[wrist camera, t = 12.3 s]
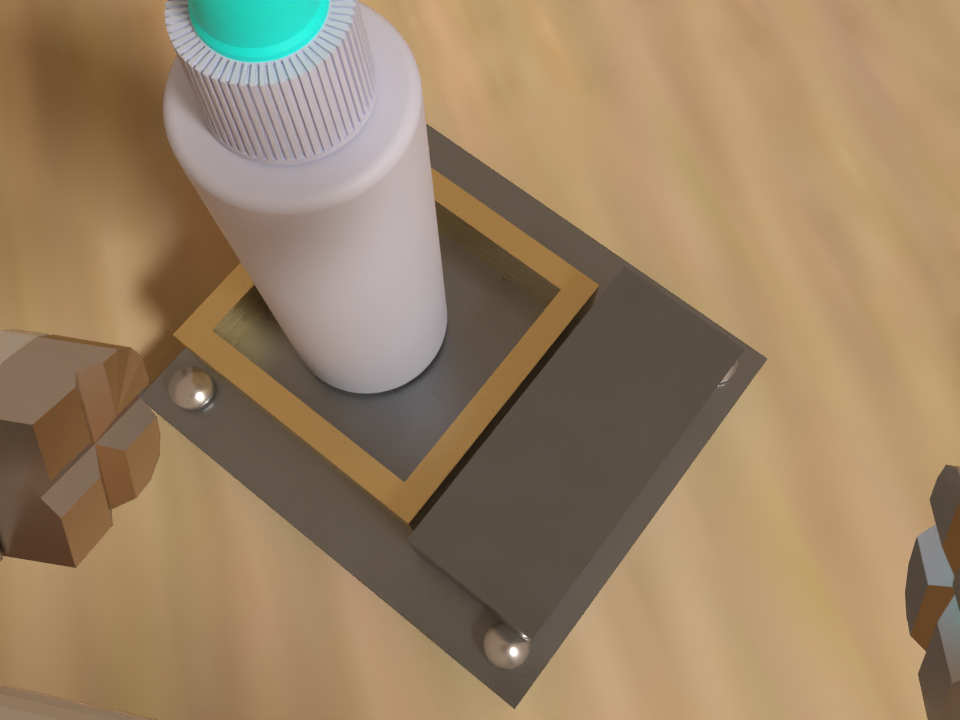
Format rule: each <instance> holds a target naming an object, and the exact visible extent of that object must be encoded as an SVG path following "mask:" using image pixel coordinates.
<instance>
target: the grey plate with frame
mask: <svg viewBox="0 0 960 720" xmlns="http://www.w3.org/2000/svg"><path fill="white" fill-rule="evenodd" d="M426 128H427V137H428V146H429V155H430V164H431V173H432V182H433V190H434V199H435V208H436V217H437V226H438V235H439V244H440V252H441V261H442V270H443V279H444V288H445V297H446V306H447V326H446V332H445V336H444V339H443V342H442V345H441V347H440V349H439V351H438V353H437V354H436V356H435V358H434V359H433V360H432V362H431V363H430V364H429V366H428V367H427V368H426V369H425V370H424V371H423V372H422V373H420V374H419V375H418V376H417V377H415V378H414V379H412V380H411V381H409V382H408V383H406V384H404V385H402V386H400V387H397V388H395V389H392V390H389V391H384V392H379V393H369V394H367V393H354V392H348V391H344V390H341V389H338V388H336V387H333V386H331V385H329V384H327V383H326V382H324V381H322V380H321V379H320V378H318V377H317V376H316V375H314V374H313V373H312V372H311V371H310V370H309V369H308V368H307V367H306V365H305V364H304V363H303V361H302V360H301V358H300V357H299V355H298V354H297V352H296V350H295V349H294V347H293V346H292V344H291V342H290V341H289V339H288V338H287V336H286V334H285V333H284V331H283V330H282V328H281V326H280V325H279V323H278V321H277V320H276V318H275V317H274V315H273V313H272V312H271V310H270V309H269V307H268V305H267V304H266V302H265V301H264V299H263V297H262V296H261V294H260V293H259V291H258V289H257V288H256V286H255V285H254V283H253V281H252V280H251V278H250V277H249V275H248V273H247V272H246V270H245V269H244V267H243V265H242V264H241V262H240V263H239V264H238V265H237V266H236V267H235V269H234V270H233V271H232V272H231V273H230V274H229V275H228V276H227V277H226V278H225V279H224V280H223V281H222V282H221V284H220V285H219V286H218V287H217V288H216V289H215V290H214V291H213V292H212V293H211V294H210V295H209V296H208V297H207V299H206V300H205V301H204V302H203V303H202V304H201V305H200V306H199V307H198V308H197V309H196V310H195V311H194V312H193V314H192V315H191V316H190V317H189V318H188V319H187V320H186V321H185V322H184V323H183V324H182V325H181V326H180V327H179V329H178V330H177V331H176V332H175V333H174V334H173V336H174V337H175V338H176V339H177V340H178V341H179V342H180V343H181V344H182V345H183V346H184V347H185V349H184V350H183V351H182V352H181V353H180V354H179V355H178V356H177V357H176V358H175V359H174V360H173V361H172V363H171V364H170V365H169V366H168V367H167V368H166V369H165V370H164V371H163V372H162V373H161V374H160V376H159V377H158V378H157V379H156V380H155V381H154V382H153V383H152V384H151V385H150V386H149V387H148V388H147V390H146V391H145V392H144V393H143V394H142V396H141V397H140V398H141V399H142V400H143V401H144V402H145V403H146V404H147V405H148V406H149V407H150V408H152V409H153V410H154V411H155V412H156V413H158V414H159V415H160V416H161V417H163V418H164V419H165V420H166V421H167V422H169V423H170V424H171V425H172V426H173V427H175V428H176V429H177V430H178V431H179V432H181V433H182V434H183V435H184V436H185V437H187V438H188V439H189V440H190V441H192V442H193V443H194V444H195V445H196V446H198V447H199V448H200V449H201V450H202V451H204V452H205V453H206V454H207V455H208V456H210V457H211V458H212V459H213V460H214V461H216V462H217V463H218V464H219V465H220V466H222V467H223V468H224V469H225V470H227V471H228V472H229V473H230V474H231V475H233V476H234V477H235V478H236V479H237V480H239V481H240V482H241V483H242V484H243V485H245V486H246V487H247V488H248V489H249V490H251V491H252V492H253V493H254V494H256V495H257V496H258V497H259V498H260V499H262V500H263V501H264V502H265V503H266V504H268V505H269V506H270V507H271V508H272V509H274V510H275V511H276V512H277V513H278V514H280V515H281V516H282V517H283V518H284V519H286V520H287V521H288V522H289V523H291V524H292V525H293V526H294V527H295V528H297V529H298V530H299V531H300V532H301V533H303V534H304V535H305V536H306V537H307V538H309V539H310V540H311V541H312V542H313V543H315V544H316V545H317V546H318V547H320V548H321V549H322V550H323V551H324V552H326V553H327V554H328V555H329V556H330V557H332V558H333V559H334V560H335V561H336V562H338V563H339V564H340V565H341V566H342V567H344V568H345V569H346V570H347V571H349V572H350V573H351V574H352V575H353V576H355V577H356V578H357V579H358V580H359V581H361V582H362V583H363V584H364V585H365V586H367V587H368V588H369V589H370V590H371V591H373V592H374V593H375V594H376V595H377V596H379V597H380V598H381V599H382V600H384V601H385V602H386V603H387V604H388V605H390V606H391V607H392V608H393V609H394V610H396V611H397V612H398V613H399V614H400V615H402V616H403V617H404V618H405V619H406V620H408V621H409V622H410V623H411V624H413V625H414V626H415V627H416V628H417V629H419V630H420V631H421V632H422V633H423V634H425V635H426V636H427V637H428V638H429V639H431V640H432V641H433V642H434V643H435V644H437V645H438V646H439V647H440V648H441V649H443V650H444V651H445V652H446V653H448V654H449V655H450V656H451V657H452V658H454V659H455V660H456V661H457V662H458V663H460V664H461V665H462V666H463V667H464V668H466V669H467V670H468V671H469V672H470V673H472V674H473V675H474V676H475V677H477V678H478V679H479V680H480V681H481V682H483V683H484V684H485V685H486V686H487V687H489V688H490V689H491V690H492V691H493V692H495V693H496V694H497V695H498V696H499V697H501V698H502V699H503V700H504V701H506V702H507V703H508V704H509V705H510V706H512V707H513V708H514V709H515V708H516V706H517V705H518V704H519V702H520V701H521V699H522V698H523V697H524V695H525V694H526V693H527V691H528V690H529V688H530V687H531V686H532V684H533V683H534V681H535V680H536V679H537V677H538V676H539V675H540V673H541V672H542V670H543V669H544V668H545V666H546V665H547V663H548V662H549V661H550V659H551V658H552V657H553V655H554V654H555V652H556V651H557V650H558V648H559V647H560V645H561V644H562V643H563V641H564V640H565V638H566V637H567V636H568V634H569V633H570V632H571V630H572V629H573V627H574V626H575V625H576V623H577V622H578V620H579V619H580V618H581V616H582V615H583V614H584V612H585V611H586V609H587V608H588V607H589V605H590V604H591V602H592V601H593V600H594V598H595V597H596V596H597V594H598V593H599V591H600V590H601V589H602V587H603V586H604V584H605V583H606V582H607V580H608V579H609V578H610V576H611V575H612V573H613V572H614V571H615V569H616V568H617V566H618V565H619V564H620V562H621V561H622V560H623V558H624V557H625V555H626V554H627V553H628V551H629V550H630V548H631V547H632V546H633V544H634V543H635V541H636V540H637V539H638V537H639V536H640V535H641V533H642V532H643V530H644V529H645V528H646V526H647V525H648V523H649V522H650V521H651V519H652V518H653V517H654V515H655V514H656V512H657V511H658V510H659V508H660V507H661V505H662V504H663V503H664V501H665V500H666V499H667V497H668V496H669V494H670V493H671V492H672V490H673V489H674V487H675V486H676V485H677V483H678V482H679V481H680V479H681V478H682V476H683V475H684V474H685V472H686V471H687V469H688V468H689V467H690V465H691V464H692V463H693V461H694V460H695V458H696V457H697V456H698V454H699V453H700V451H701V450H702V449H703V447H704V446H705V444H706V443H707V442H708V440H709V439H710V438H711V436H712V435H713V433H714V432H715V431H716V429H717V428H718V426H719V425H720V424H721V422H722V421H723V420H724V418H725V417H726V415H727V414H728V413H729V411H730V410H731V408H732V407H733V406H734V404H735V403H736V402H737V400H738V399H739V397H740V396H741V395H742V393H743V392H744V390H745V389H746V388H747V386H748V385H749V384H750V382H751V381H752V379H753V378H754V377H755V375H756V374H757V372H758V371H759V370H760V368H761V367H762V366H763V364H764V363H765V361H766V360H767V358H766V357H764V356H763V355H761V354H760V353H758V352H757V351H755V350H754V349H753V348H751V347H750V346H748V345H747V344H745V343H744V342H742V341H741V340H739V339H738V338H737V337H735V336H734V335H732V334H731V333H729V332H728V331H726V330H725V329H724V328H722V327H721V326H719V325H718V324H716V323H715V322H713V321H712V320H710V319H709V318H708V317H706V316H705V315H703V314H702V313H700V312H699V311H697V310H696V309H694V308H693V307H692V306H690V305H689V304H687V303H686V302H684V301H683V300H681V299H680V298H679V297H677V296H676V295H674V294H673V293H671V292H670V291H668V290H667V289H665V288H664V287H663V286H661V285H660V284H658V283H657V282H655V281H654V280H652V279H651V278H649V277H648V276H647V275H645V274H644V273H642V272H641V271H639V270H638V269H636V268H635V267H634V266H632V265H631V264H629V263H628V262H626V261H625V260H623V259H622V258H620V257H619V256H618V255H616V254H615V253H613V252H612V251H610V250H609V249H607V248H606V247H604V246H603V245H602V244H600V243H599V242H597V241H596V240H594V239H593V238H591V237H590V236H589V235H587V234H586V233H584V232H583V231H581V230H580V229H578V228H577V227H575V226H574V225H573V224H571V223H570V222H568V221H567V220H565V219H564V218H562V217H561V216H559V215H558V214H557V213H555V212H554V211H552V210H551V209H549V208H548V207H546V206H545V205H544V204H542V203H541V202H539V201H538V200H536V199H535V198H533V197H532V196H530V195H529V194H528V193H526V192H525V191H523V190H522V189H520V188H519V187H517V186H516V185H514V184H513V183H512V182H510V181H509V180H507V179H506V178H504V177H503V176H501V175H500V174H499V173H497V172H496V171H494V170H493V169H491V168H490V167H488V166H487V165H485V164H484V163H483V162H481V161H480V160H478V159H477V158H475V157H474V156H472V155H471V154H469V153H468V152H467V151H465V150H464V149H462V148H461V147H459V146H458V145H456V144H455V143H454V142H452V141H451V140H449V139H448V138H446V137H445V136H443V135H442V134H440V133H439V132H438V131H436V130H435V129H433V128H432V127H430V126H429V125H427V124H426Z"/></svg>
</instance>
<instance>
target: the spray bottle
mask: <svg viewBox="0 0 960 720" xmlns="http://www.w3.org/2000/svg"><path fill="white" fill-rule="evenodd" d="M165 7H166V9H167V10H165V16H166V18H165V23H166V25H167V26H166V28H167V31H168V35H169V38H170V40H171V42H172V45H173V47H174V49H175V52H176V54H177V57H176V59H175V61H174V63H173V65H172V67H171V69H170V72H169V75H168V78H167V81H166V85H165V90H164V96H163V120H164V127H165V131H166V135H167V139H168V142H169V144H170V147H171V149H172V152H173V154H174V156H175V157H176V159H177V161H178V162H179V164H180V166H181V168H182V169H183V171H184V172H185V174H186V176H187V177H188V179H189V180H190V182H191V184H192V185H193V187H194V188H195V190H196V192H197V193H198V195H199V196H200V198H201V200H202V201H203V203H204V204H205V206H206V208H207V209H208V211H209V212H210V214H211V216H212V217H213V219H214V220H215V222H216V224H217V225H218V227H219V228H220V230H221V232H222V233H223V235H224V236H225V238H226V240H227V241H228V243H229V244H230V246H231V248H232V249H233V251H234V253H235V254H236V256H237V257H238V259H239V261H240V262H241V264H242V265H243V267H244V269H245V270H246V272H247V273H248V275H249V277H250V278H251V280H252V281H253V283H254V285H255V286H256V288H257V289H258V291H259V293H260V294H261V296H262V297H263V299H264V301H265V302H266V304H267V305H268V307H269V309H270V310H271V312H272V313H273V315H274V317H275V318H276V320H277V321H278V323H279V325H280V326H281V328H282V330H283V331H284V333H285V334H286V336H287V338H288V339H289V341H290V342H291V344H292V346H293V347H294V349H295V350H296V352H297V354H298V355H299V357H300V358H301V360H302V361H303V363H304V364H305V365H306V367H307V368H308V369H309V370H310V371H311V372H312V373H313V374H314V375H316V376H317V377H318V378H320V379H321V380H322V381H324V382H326V383H327V384H329V385H331V386H333V387H336V388H338V389H341V390H344V391H348V392H354V393H367V394H369V393H379V392H384V391H389V390H392V389H395V388H397V387H400V386H402V385H404V384H406V383H408V382H409V381H411V380H412V379H414V378H415V377H417V376H418V375H419V374H420V373H422V372H423V371H424V370H425V369H426V368H427V367H428V366H429V364H430V363H431V362H432V360H433V359H434V358H435V356H436V354H437V353H438V351H439V349H440V347H441V345H442V342H443V339H444V336H445V332H446V326H447V306H446V297H445V288H444V279H443V270H442V261H441V252H440V244H439V235H438V226H437V217H436V208H435V199H434V190H433V182H432V173H431V164H430V155H429V146H428V137H427V128H426V119H425V111H424V102H423V93H422V84H421V77H420V74H419V70H418V66H417V63H416V61H415V58H414V56H413V54H412V51H411V49H410V48H409V46H408V44H407V43H406V41H405V39H404V38H403V37H402V36H401V34H400V33H399V32H398V31H397V29H396V28H395V27H394V26H393V25H392V24H391V23H390V22H389V21H388V20H386V19H385V18H384V17H383V16H382V15H380V14H379V13H378V12H376V11H375V10H374V9H372V8H370V7H368V6H367V5H365V4H363V3H361V2H359V1H358V0H168V1H166V2H165Z"/></svg>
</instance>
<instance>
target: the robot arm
mask: <svg viewBox="0 0 960 720" xmlns="http://www.w3.org/2000/svg"><path fill="white" fill-rule="evenodd" d="M148 384H149V379H148V375H147V371H146V368H145V364H144V360H143V356H141V355H140V354H139V353H137V352H136V351H135V350H133V349H132V348H131V347H125V346H119V345H113V344H107V343H101V342H95V341H89V340H83V339H77V338H71V337H65V336H59V335H48V334H45V333H40V332H33V331H25V330H18V329H7V330H0V561H1V560H2V559H3V557H2V556H8V557H14V558H20V559H26V560H32V561H38V562H44V563H50V564H56V565H62V566H68V567H74V568H76V567H77V566H78V565H79V563H80V562H81V561H82V560H83V559H84V558H85V557H86V555H87V554H88V553H89V552H90V551H91V550H92V549H93V547H94V546H95V545H96V544H97V543H98V542H99V540H100V539H101V538H102V537H103V536H104V535H105V534H106V532H107V531H108V530H109V529H110V528H111V527H112V525H113V523H112V510H111V509H113V508H116V507H118V506H120V505H122V504H124V503H126V502H129V501H131V500H133V499H135V498H137V496H138V495H139V494H140V493H141V491H142V490H143V489H144V488H145V486H146V485H147V484H148V483H149V482H150V480H151V478H152V475H153V472H154V469H155V467H156V464H157V461H158V459H159V456H160V431H159V426H158V421H157V416H156V415H155V414H154V413H153V412H152V411H151V409H150V408H149V407H148V406H147V405H146V404H145V402H144V401H143V400H142V399H141V398H140V397H141V396H142V394H143V393H144V391H145V389H146V388H147V386H148ZM930 503H931V506H932V510H933V514H934V518H935V522H936V524H935V525H934V526H932V527H931V528H929V529H928V530H926V531H925V532H923V533H922V534H920V535H918V536H917V538H916V541H915V545H914V548H913V551H912V555H911V558H910V561H909V565H908V573H907V581H906V590H905V599H906V615H907V621H908V626H909V632H910V636H911V637H912V638H913V639H914V640H915V641H916V642H917V643H918V644H919V645H920V646H921V647H922V648H923V649H924V650H925V651H926V654H925V657H924V659H923V662H922V665H921V668H920V670H919V673H918V676H919V681H920V686H921V690H922V695H923V700H924V704H925V709H926V714H927V718H928V720H960V467H959V466H952V465H946V466H945V467H944V469H943V470H942V472H941V473H940V475H939V477H938V478H937V481H936V484H935V486H934V489H933V492H932V495H931V497H930ZM0 720H156V719H151V718H147V717H142V716H138V715H134V714H129V713H125V712H120V711H116V710H112V709H107V708H103V707H98V706H94V705H90V704H85V703H81V702H77V701H72V700H68V699H63V698H59V697H55V696H50V695H46V694H41V693H37V692H33V691H28V690H24V689H19V688H15V687H11V686H6V685H2V684H0Z"/></svg>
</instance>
